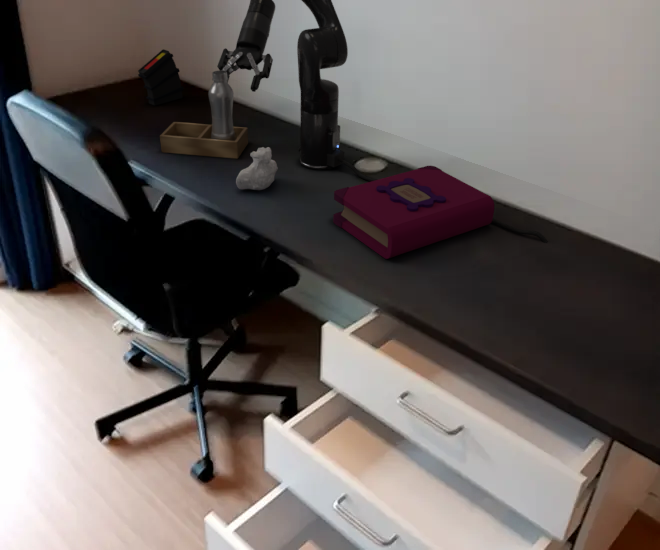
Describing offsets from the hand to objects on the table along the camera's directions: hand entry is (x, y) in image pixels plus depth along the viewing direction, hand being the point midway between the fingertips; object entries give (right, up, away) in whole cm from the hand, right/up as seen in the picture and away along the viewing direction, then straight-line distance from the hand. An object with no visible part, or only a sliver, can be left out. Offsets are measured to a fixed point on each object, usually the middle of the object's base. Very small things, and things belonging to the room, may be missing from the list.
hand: (238, 88), depth 190 cm
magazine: (-27, +3, +30) cm, 40 cm away
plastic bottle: (-4, -16, -1) cm, 17 cm away
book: (+42, -39, -34) cm, 67 cm away
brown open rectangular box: (-9, -16, -1) cm, 18 cm away
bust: (+8, -29, -20) cm, 36 cm away
